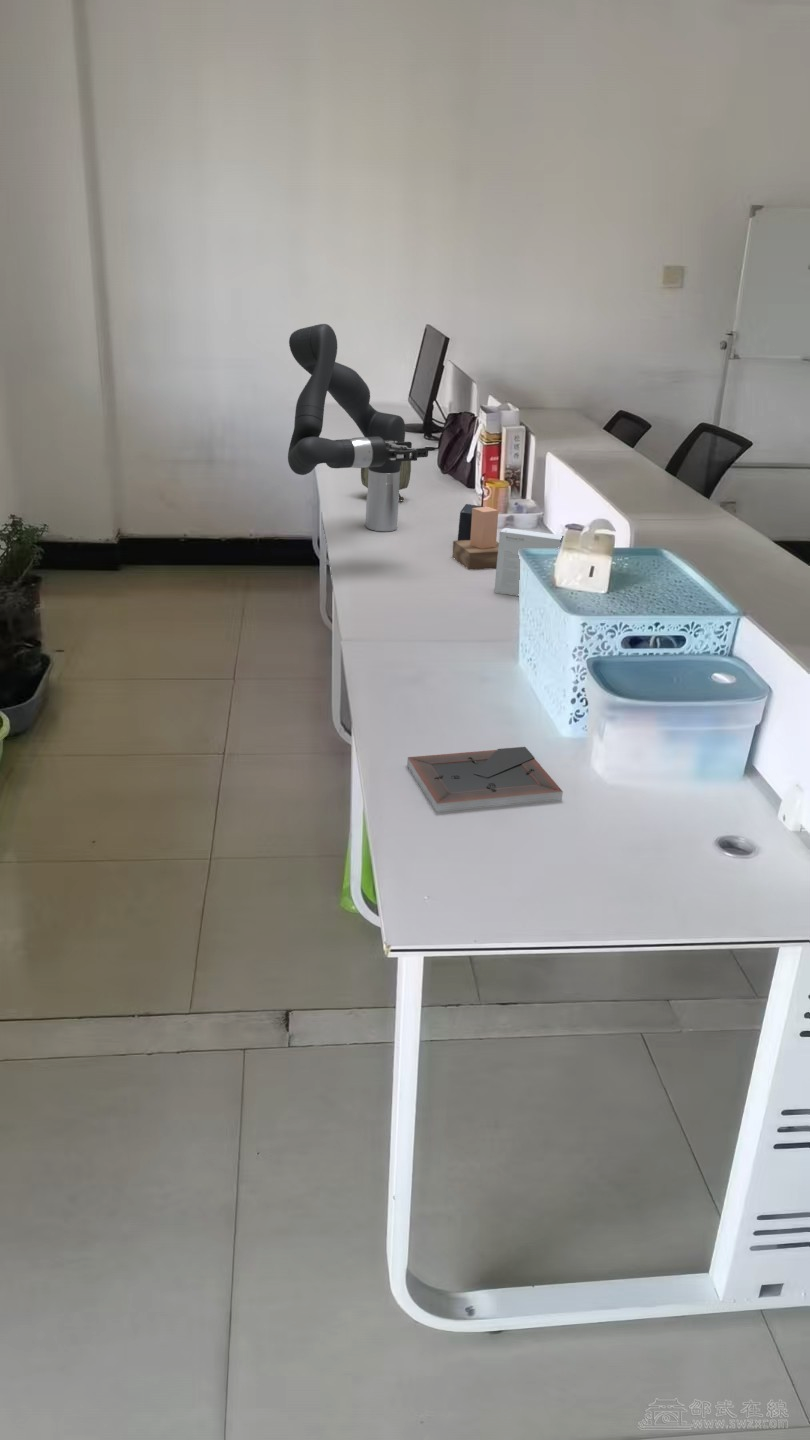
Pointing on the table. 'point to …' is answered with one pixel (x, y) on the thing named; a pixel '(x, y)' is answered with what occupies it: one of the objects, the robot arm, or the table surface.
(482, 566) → the walnut block
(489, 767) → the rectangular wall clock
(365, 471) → the tabletop clock
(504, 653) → the table surface
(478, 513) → the terracotta pillar
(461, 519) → the small box
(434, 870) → the table surface
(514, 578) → the skincare box
